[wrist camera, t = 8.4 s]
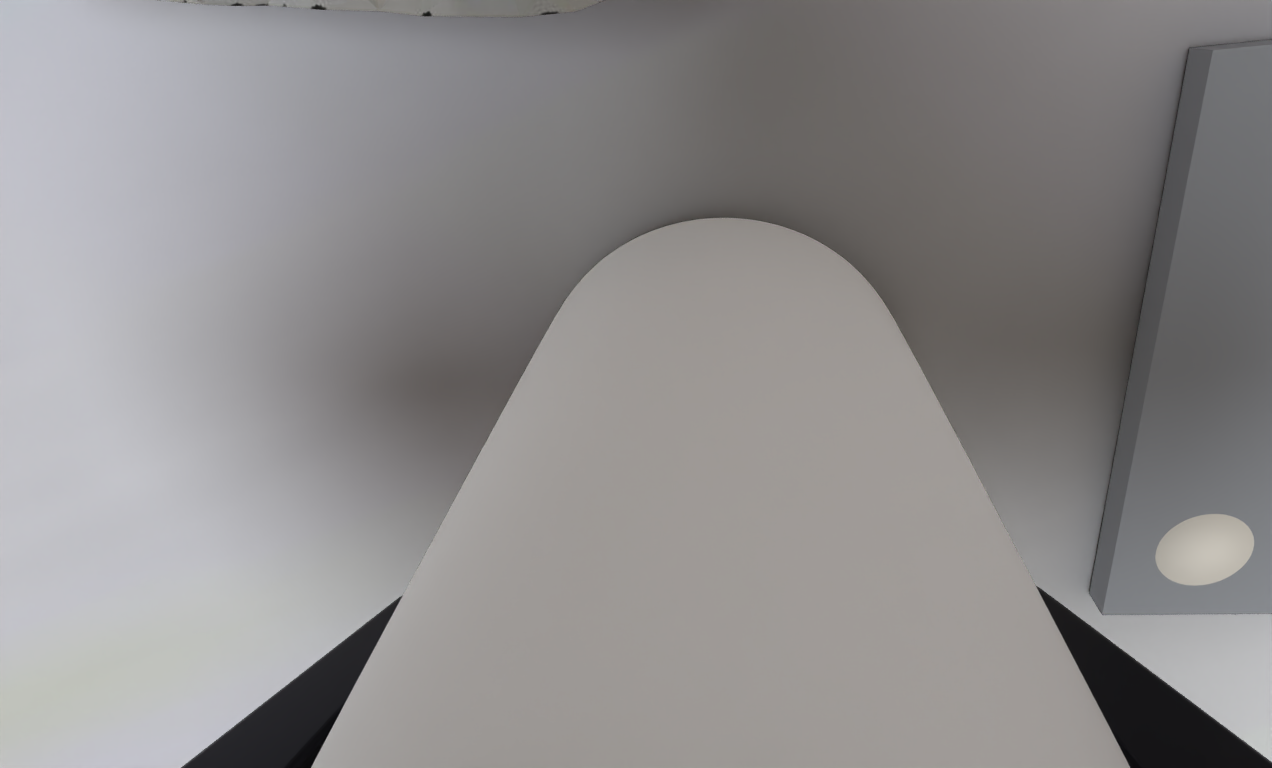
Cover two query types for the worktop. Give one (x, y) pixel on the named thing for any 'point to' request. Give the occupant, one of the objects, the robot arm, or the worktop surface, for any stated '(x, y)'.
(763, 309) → the can
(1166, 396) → the slate mat
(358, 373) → the worktop surface
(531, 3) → the egg carton
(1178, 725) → the robot arm
